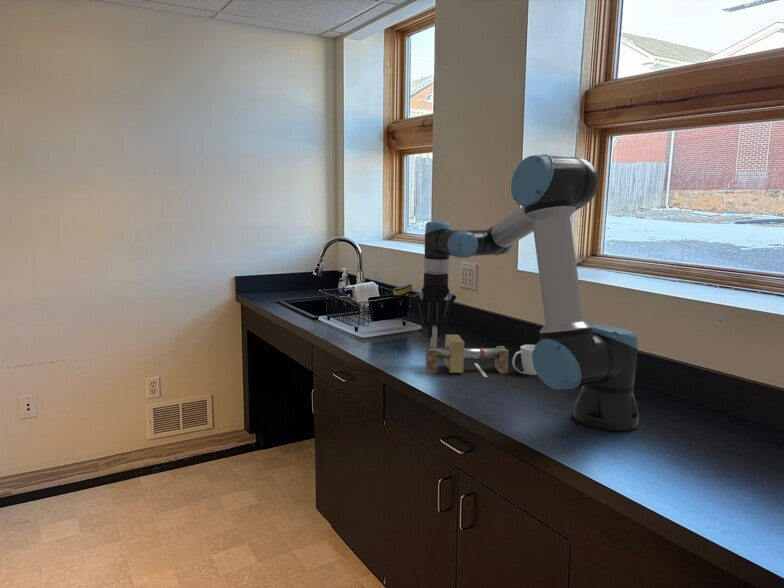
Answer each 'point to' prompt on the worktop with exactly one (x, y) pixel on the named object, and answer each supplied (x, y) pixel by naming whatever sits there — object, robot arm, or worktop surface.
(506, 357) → the cradles
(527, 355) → the cup
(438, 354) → the pipe
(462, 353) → the collar
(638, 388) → the worktop surface
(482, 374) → the tick mark
